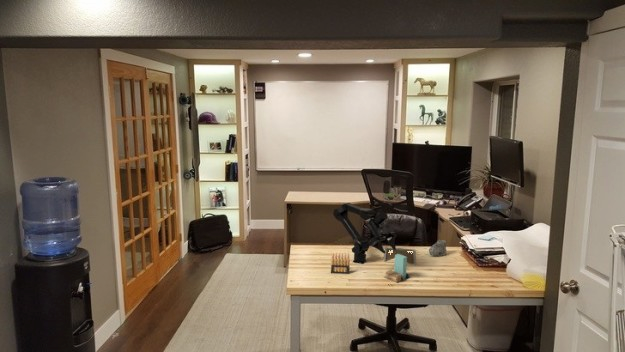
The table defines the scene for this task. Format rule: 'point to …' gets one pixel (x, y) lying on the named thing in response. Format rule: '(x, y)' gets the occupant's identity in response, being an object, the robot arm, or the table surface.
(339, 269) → the ammunition clip
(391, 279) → the offcut bottom
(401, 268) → the teal rectangular block
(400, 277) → the offcut middle
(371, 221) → the robot arm
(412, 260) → the picture frame
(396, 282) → the rack
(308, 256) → the table surface
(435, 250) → the mineral rock
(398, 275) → the offcut top
